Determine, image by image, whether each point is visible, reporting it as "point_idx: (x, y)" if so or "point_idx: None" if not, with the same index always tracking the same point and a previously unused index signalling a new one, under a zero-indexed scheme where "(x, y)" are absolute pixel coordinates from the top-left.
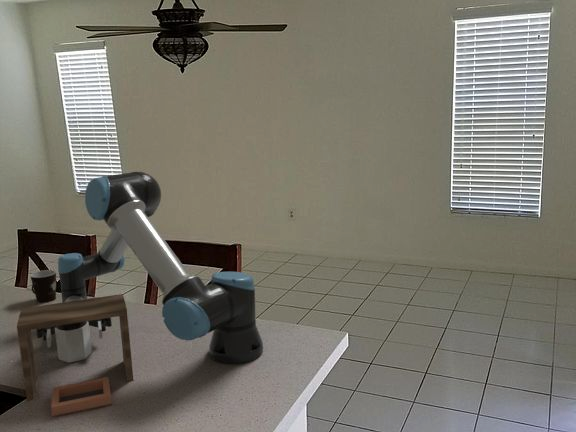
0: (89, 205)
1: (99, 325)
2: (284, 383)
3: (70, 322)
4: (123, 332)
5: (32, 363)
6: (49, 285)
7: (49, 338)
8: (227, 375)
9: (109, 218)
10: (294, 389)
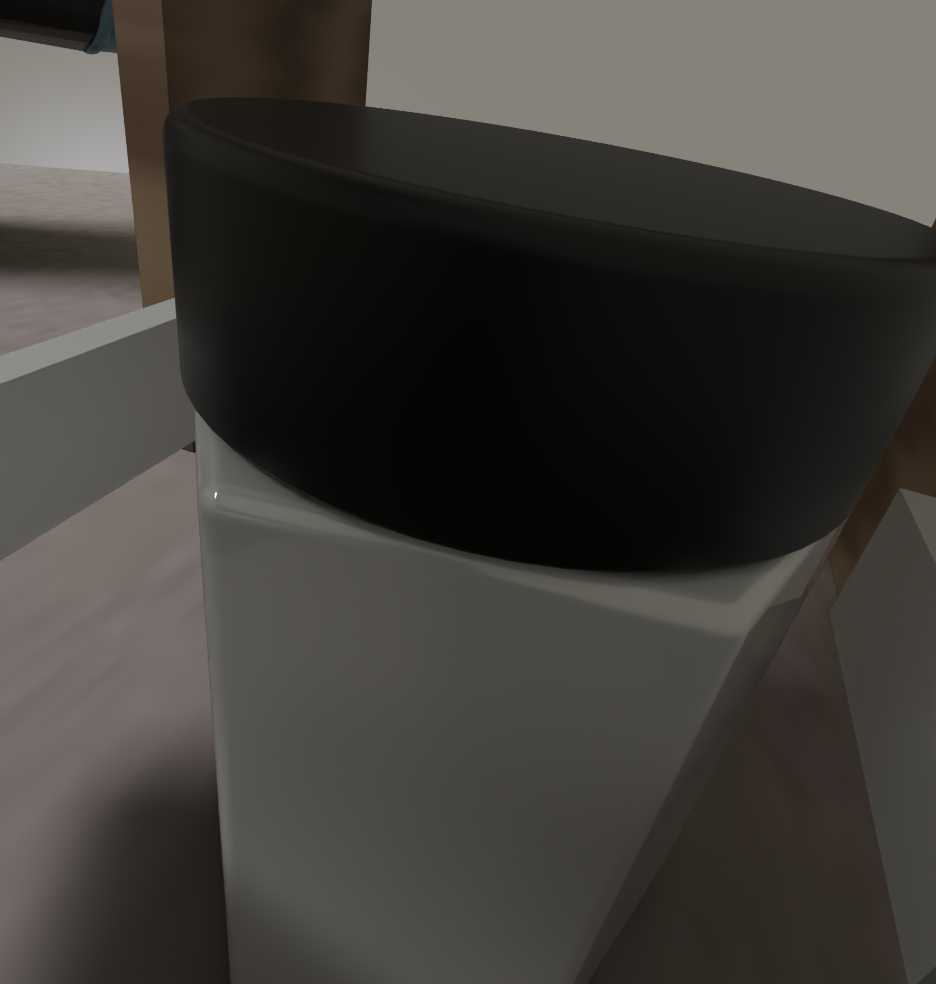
0: None
1: (79, 345)
2: (34, 178)
3: None
4: (366, 24)
5: (922, 386)
6: None
7: (894, 526)
8: (61, 227)
9: None
10: (58, 172)
